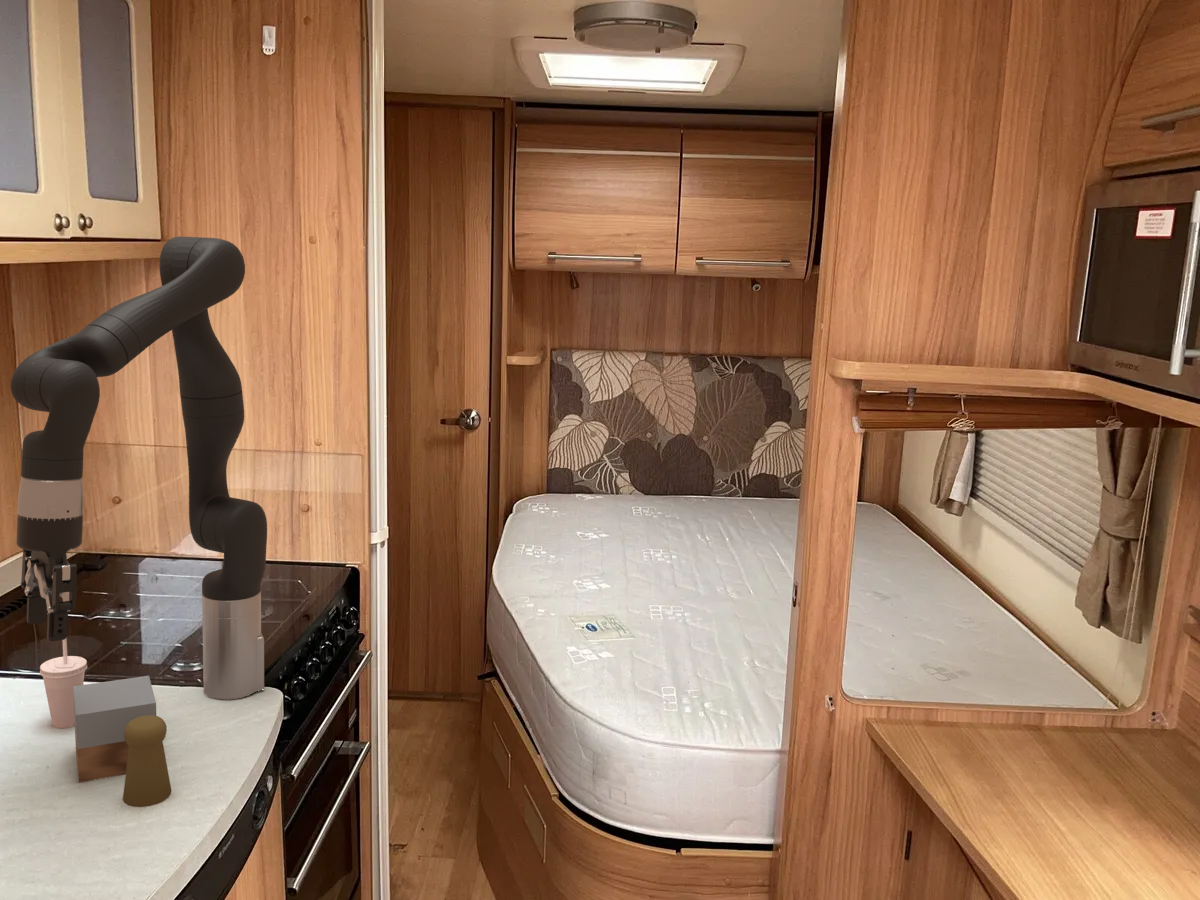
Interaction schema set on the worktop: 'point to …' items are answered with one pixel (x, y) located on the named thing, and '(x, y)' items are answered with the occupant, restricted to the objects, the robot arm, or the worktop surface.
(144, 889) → the worktop surface
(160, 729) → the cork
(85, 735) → the slate top block
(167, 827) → the worktop surface
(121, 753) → the walnut base block
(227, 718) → the worktop surface
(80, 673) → the smoothie
